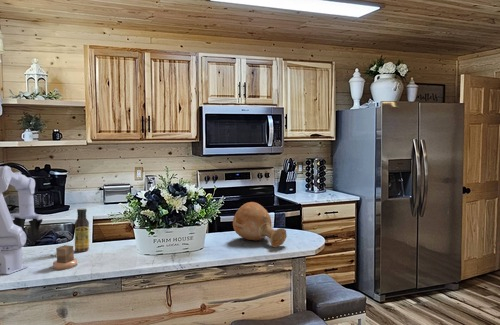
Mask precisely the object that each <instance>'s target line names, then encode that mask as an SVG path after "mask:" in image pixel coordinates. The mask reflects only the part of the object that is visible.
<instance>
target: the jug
mask: <svg viewBox="0 0 500 325" xmlns="http://www.w3.org/2000/svg"><path fill="white" fill-rule="evenodd" d="M272 223H273V222H272V218H271V216H270V213H269V212H268V210H267V209H266V208H264V206H263V205H261V203H260V204H259V203H258V202H255V201H250V202H246V203H243V205H241V206H240V207H239V208H238V209H237V210H236V212H235V214H234V216H233V219H232V226H233V227H232V228H233V230H234V232H235V233H236V235H238V236H239V237H240V238H242V239H245V240H249V241H255V242H256V241H260V240H262V239H264V238H266V237H267V238H268V241H269V242H270V246H271V247H273V248H277V247H280V246H281V245H283V244H284V242H285V241H286V239H287V236H288V234H287V230H286V229H285V228H277V229H274V228H272Z"/></svg>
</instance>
